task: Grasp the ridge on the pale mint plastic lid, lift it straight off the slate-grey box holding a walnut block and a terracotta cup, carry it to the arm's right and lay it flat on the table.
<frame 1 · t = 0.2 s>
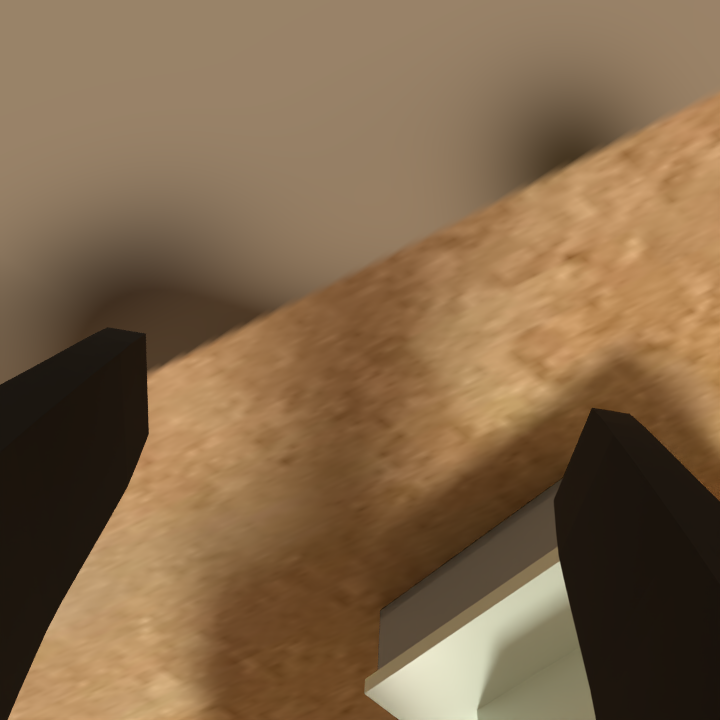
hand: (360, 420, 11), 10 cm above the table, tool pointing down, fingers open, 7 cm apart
box: (547, 602, 26), on the table
lid: (565, 672, 23), point 3 cm above the table, touching box
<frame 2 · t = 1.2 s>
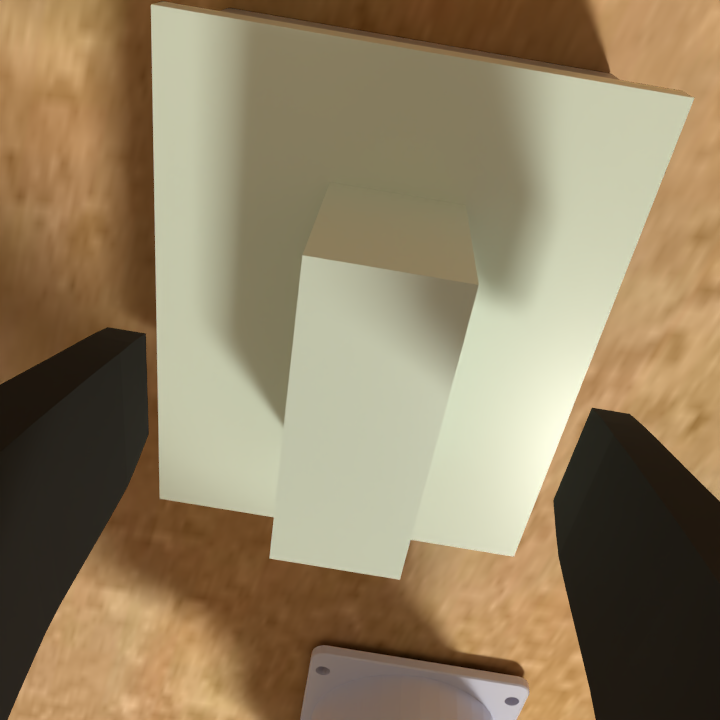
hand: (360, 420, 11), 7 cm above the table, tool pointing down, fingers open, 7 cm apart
box: (381, 262, 17), on the table
lid: (373, 325, 14), point 3 cm above the table, touching box
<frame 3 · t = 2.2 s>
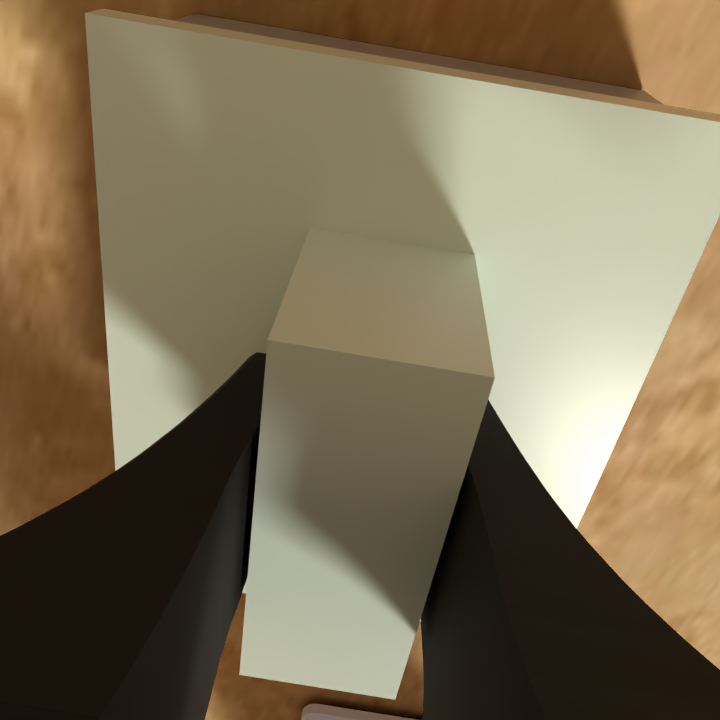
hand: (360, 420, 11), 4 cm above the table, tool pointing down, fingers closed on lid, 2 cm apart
box: (375, 301, 15), on the table
lid: (364, 385, 12), point 3 cm above the table, touching box, gripper
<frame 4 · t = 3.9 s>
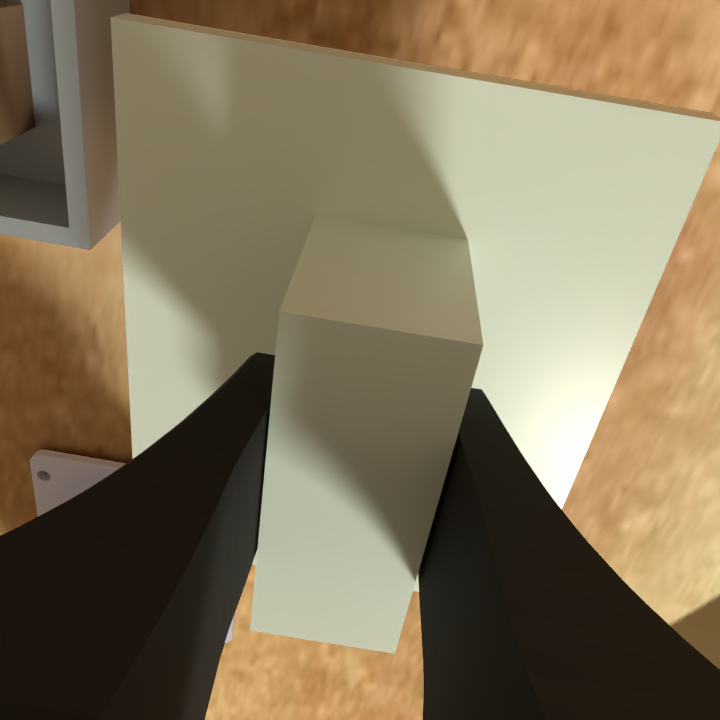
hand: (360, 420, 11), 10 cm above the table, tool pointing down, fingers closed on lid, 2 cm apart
lid: (366, 365, 13), point 8 cm above the table, touching gripper
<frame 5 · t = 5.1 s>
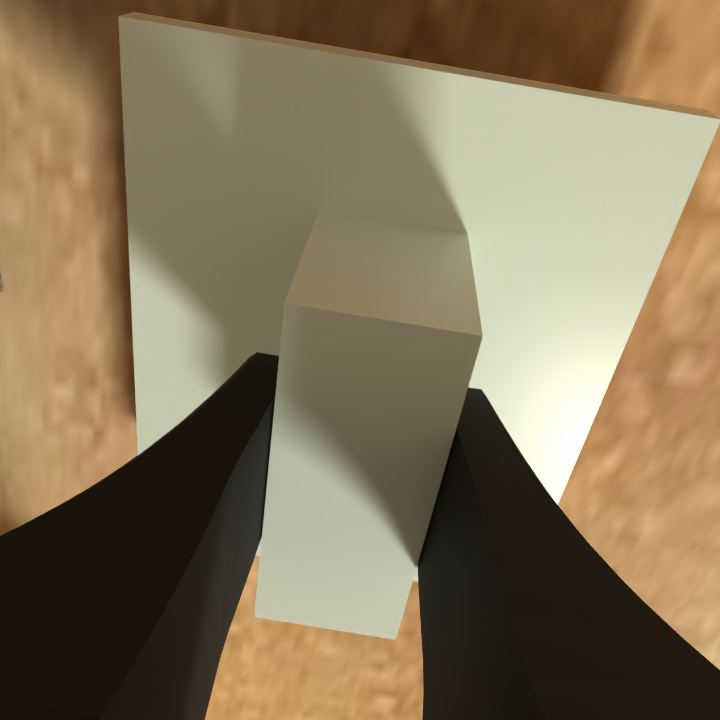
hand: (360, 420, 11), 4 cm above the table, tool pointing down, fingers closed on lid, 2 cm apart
lid: (367, 358, 13), point 2 cm above the table, touching gripper
when the fingers open (3 cm above the table, at t = 5.6 s): lid stays where it is, point 1 cm above the table.
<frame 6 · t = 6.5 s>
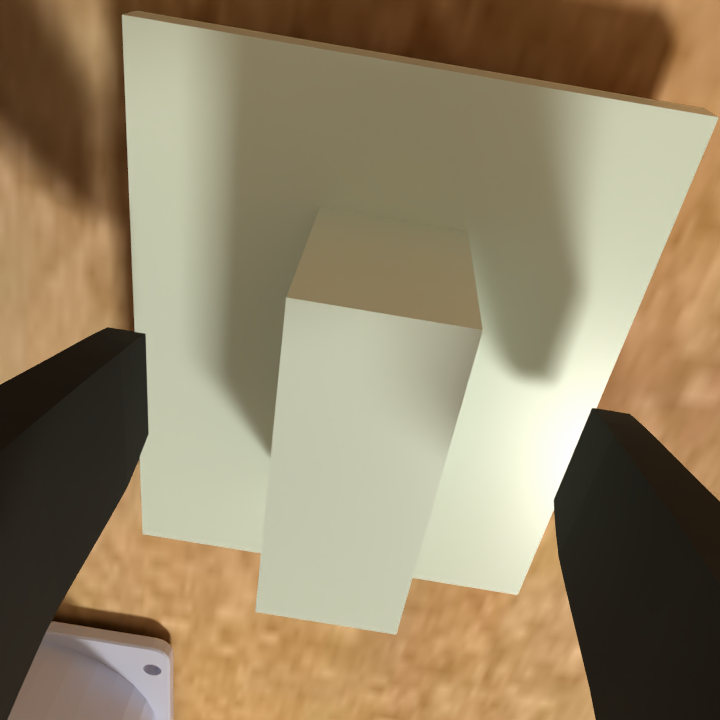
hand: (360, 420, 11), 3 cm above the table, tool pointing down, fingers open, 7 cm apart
lid: (368, 355, 13), point 1 cm above the table
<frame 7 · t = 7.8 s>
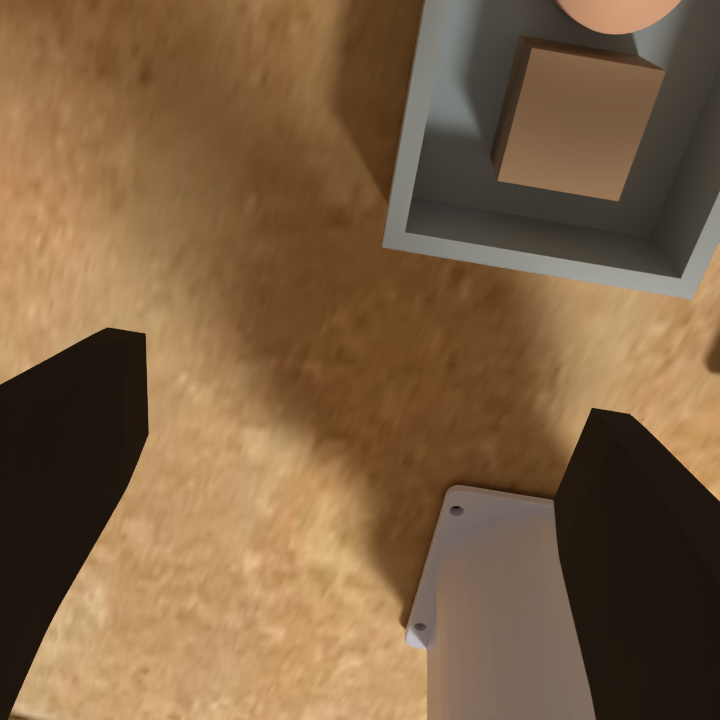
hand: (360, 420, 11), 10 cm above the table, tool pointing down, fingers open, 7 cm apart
box: (575, 42, 17), on the table
walnut block: (561, 108, 18), resting on box
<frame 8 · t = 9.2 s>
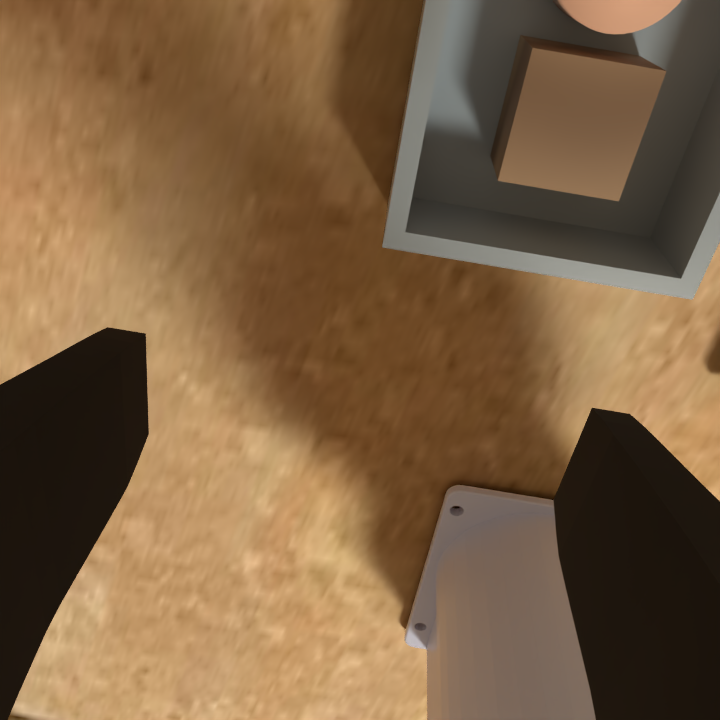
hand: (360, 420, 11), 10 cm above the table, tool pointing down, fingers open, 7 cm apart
box: (576, 42, 17), on the table
walnut block: (561, 107, 18), resting on box
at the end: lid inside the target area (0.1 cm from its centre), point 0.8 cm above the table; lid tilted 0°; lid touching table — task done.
